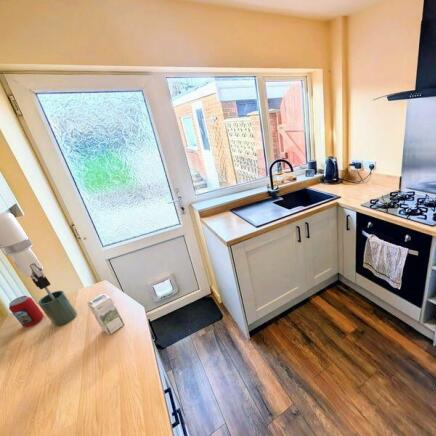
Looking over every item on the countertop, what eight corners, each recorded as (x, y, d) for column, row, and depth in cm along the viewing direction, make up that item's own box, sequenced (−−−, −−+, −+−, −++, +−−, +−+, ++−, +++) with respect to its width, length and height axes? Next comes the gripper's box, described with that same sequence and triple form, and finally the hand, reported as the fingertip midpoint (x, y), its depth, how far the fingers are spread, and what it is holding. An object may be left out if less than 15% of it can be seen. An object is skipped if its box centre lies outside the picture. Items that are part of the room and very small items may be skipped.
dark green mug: (58, 329, 99) (42, 307, 94) (50, 322, 103) (35, 301, 98) (80, 315, 105) (66, 293, 100) (72, 309, 109) (59, 288, 104)
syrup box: (118, 319, 100) (102, 292, 94) (125, 324, 97) (110, 297, 91) (102, 330, 96) (86, 302, 90) (110, 336, 93) (93, 307, 87)
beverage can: (19, 327, 102) (2, 305, 97) (37, 314, 108) (22, 293, 103) (30, 329, 101) (13, 307, 96) (48, 316, 107) (33, 295, 101)
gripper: (-4, 247, 90) (24, 286, 98) (9, 256, 82) (39, 298, 90) (23, 237, 96) (48, 275, 103) (38, 245, 88) (63, 285, 95)
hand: (43, 285), depth 96 cm, fingers closed on bottle brush, 2 cm apart
